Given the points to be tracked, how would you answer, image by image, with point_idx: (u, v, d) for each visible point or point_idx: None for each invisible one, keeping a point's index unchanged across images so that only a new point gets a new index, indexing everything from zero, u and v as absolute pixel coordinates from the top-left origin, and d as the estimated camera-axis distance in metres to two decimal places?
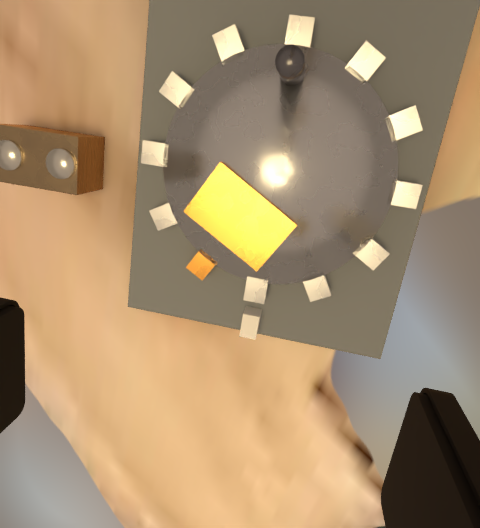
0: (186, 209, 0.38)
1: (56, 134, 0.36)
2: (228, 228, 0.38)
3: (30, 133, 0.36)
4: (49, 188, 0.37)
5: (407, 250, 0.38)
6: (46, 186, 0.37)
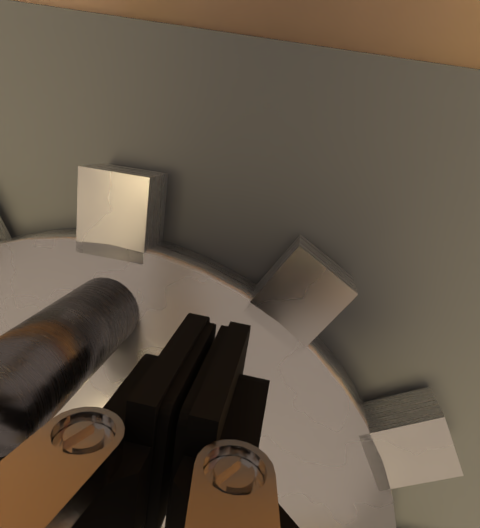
0: None
1: None
2: None
3: None
4: None
5: None
6: None
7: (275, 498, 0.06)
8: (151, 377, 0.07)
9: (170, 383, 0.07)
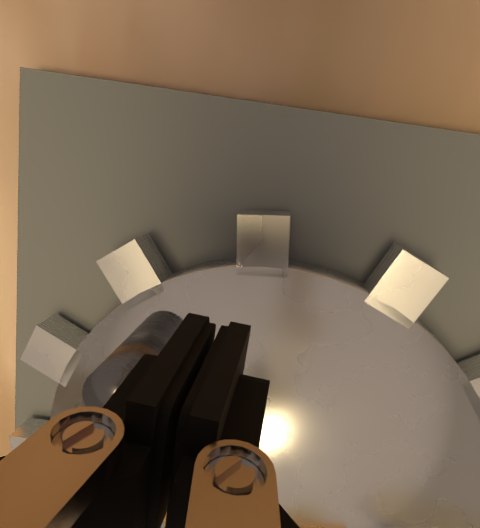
0: None
1: None
2: None
3: None
4: None
5: None
6: None
7: (275, 498, 0.06)
8: (151, 377, 0.08)
9: (169, 383, 0.07)
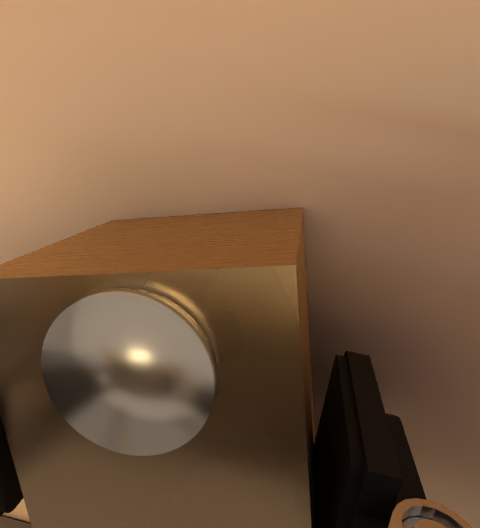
0: None
1: None
2: None
3: (284, 487, 0.06)
4: None
5: None
6: None
7: None
8: None
9: None
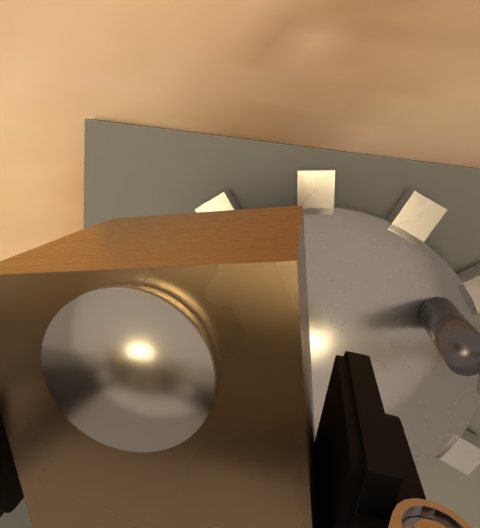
0: None
1: None
2: None
3: (285, 484, 0.06)
4: None
5: None
6: None
7: None
8: None
9: None
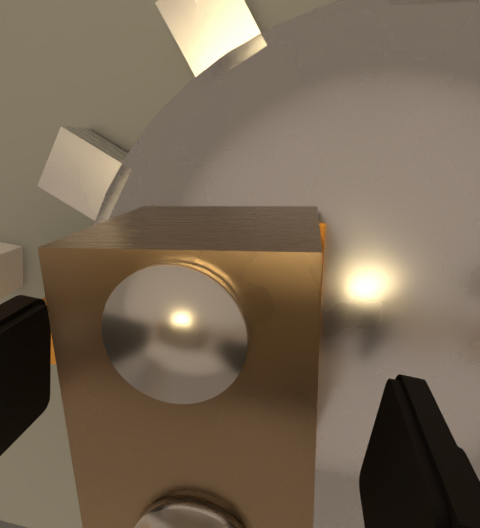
0: None
1: None
2: None
3: (296, 437, 0.08)
4: (83, 490, 0.09)
5: None
6: (88, 482, 0.09)
7: None
8: None
9: None
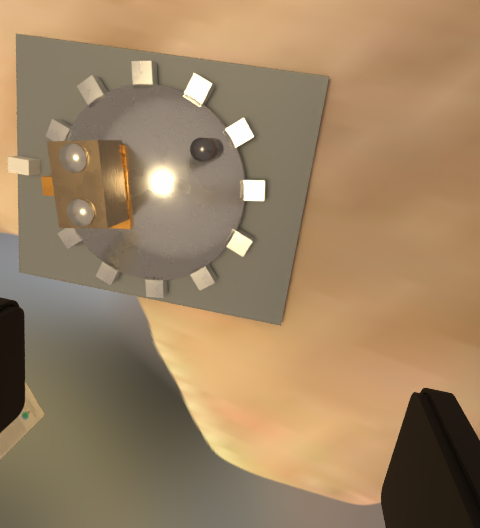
0: None
1: (104, 207, 0.39)
2: None
3: (98, 180, 0.38)
4: (56, 200, 0.40)
5: (105, 287, 0.49)
6: (57, 197, 0.39)
7: None
8: None
9: None
